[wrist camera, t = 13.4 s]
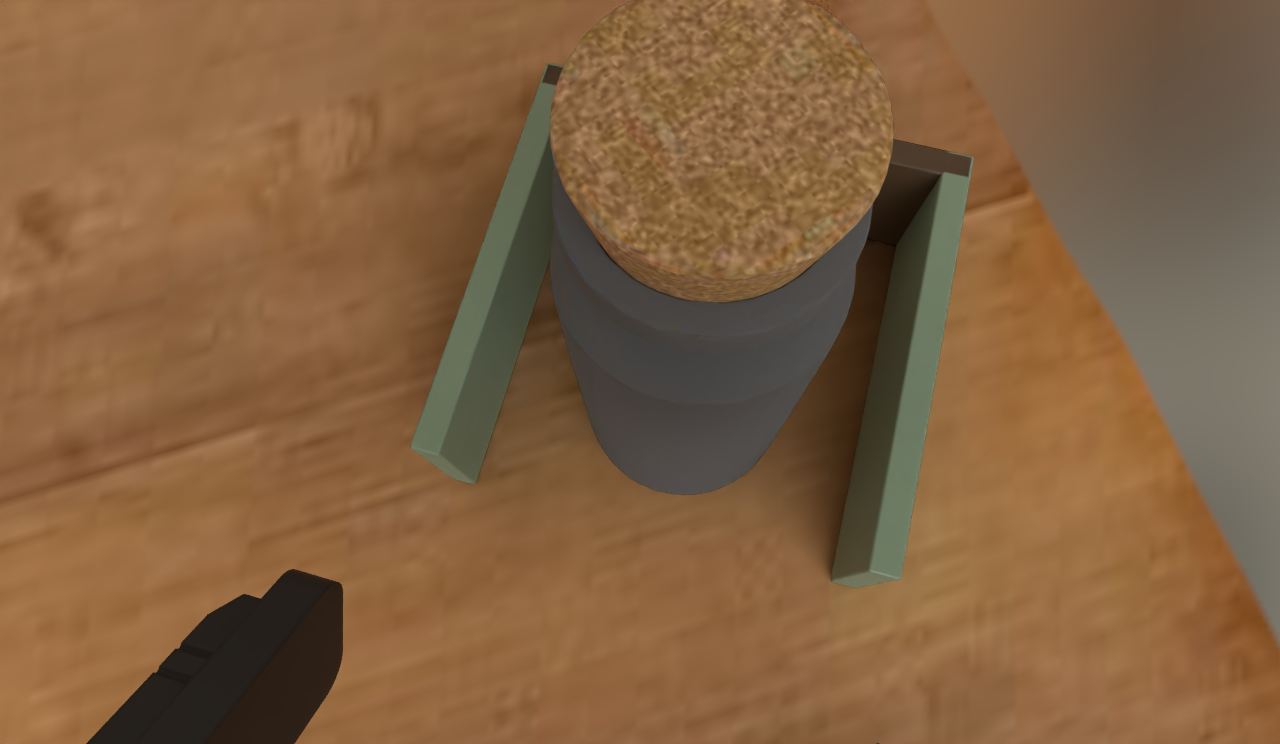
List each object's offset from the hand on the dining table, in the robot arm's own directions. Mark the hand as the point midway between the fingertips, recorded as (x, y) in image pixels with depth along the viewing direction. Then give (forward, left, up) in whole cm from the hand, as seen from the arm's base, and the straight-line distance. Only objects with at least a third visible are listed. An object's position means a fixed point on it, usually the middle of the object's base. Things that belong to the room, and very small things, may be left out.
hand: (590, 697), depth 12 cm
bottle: (+1, -8, -12) cm, 14 cm away
